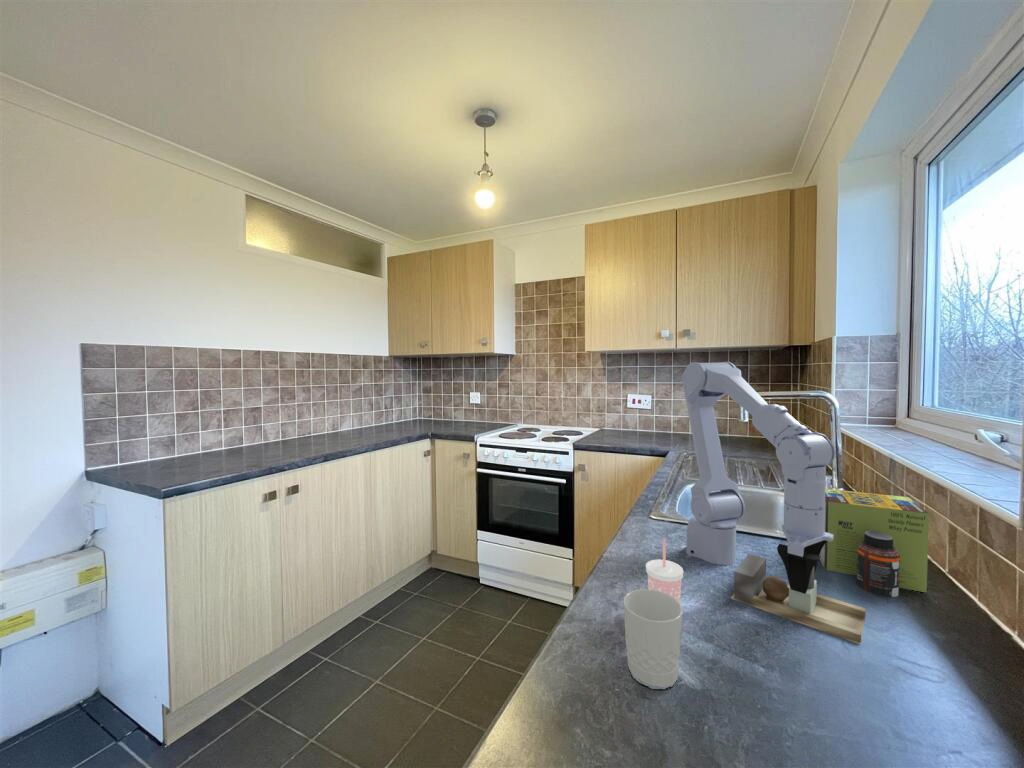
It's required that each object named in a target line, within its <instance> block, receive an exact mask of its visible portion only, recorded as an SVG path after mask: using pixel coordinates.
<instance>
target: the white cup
mask: <svg viewBox="0 0 1024 768" xmlns="http://www.w3.org/2000/svg"><path fill="white" fill-rule="evenodd" d="M623 613H624V614H623V616H624V617H623V618H624V635H625V637H624V638H625V648H626V652H627V653H626V654H627V667H628V666H629V668H630V670H631V672H632V673H633V674H634V675H635V676H636V677H637V678H639V679H640V680H641V681H643V682H646V683H647V684H649V685H652V686H659V687H667V686H669V685H673V684H674V683H675V682H676V680H677V681H679V680H678V679H679V678H678V677H679V661H680V657H681V656H680V655H681V644H682V643H681V642H682V626H683V607H682V605H681V602H680V603H679V602H678V601H677V600H676V599H674V598H673V597H671V596H670V595H668V594H665V593H663V592H660V591H656V590H650V589H649V588H643V589H639V588H638V589H635V590H632V591H629V592H627V594H625V595H624V597H623ZM676 683H677V682H676ZM676 683H675V684H676Z"/></svg>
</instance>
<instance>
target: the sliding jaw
mask: <svg viewBox="0 0 1024 768" xmlns="http://www.w3.org/2000/svg"><path fill="white" fill-rule="evenodd" d="M817 581H818V580H816V579H815V573H814V567H813V569H812V573H811V577H810V582H809V586H808V589H807V592H806V594H804V593H801V592H797V591H794V590H791V588H790V587H789V607H791V608H794V609H796V610H799V611H802V612H805V613H808V614H811V615H812V613H813V610H814V608H815V605H816V596H817V594H818V592H817V590H818V589H817V587H818V584H817V583H818V582H817Z"/></svg>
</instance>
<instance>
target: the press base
mask: <svg viewBox="0 0 1024 768" xmlns="http://www.w3.org/2000/svg"><path fill="white" fill-rule="evenodd" d="M745 556H746V557H745V558H744V559H743V560H742V561H741V563H739V564H738V566H737V567H736V568H735V569H734V572H733V594H732V595H731V596H730V599H731V600H734V601H737V602H739V603H743V604H745V605H748V606H751V607H754V608H757V609H759V610H762V611H764V612H768V613H771V614H773V615H776V616H778V617H780V618H781V617H782V618H785V619H788V620H790V621H793V622H796V623H799V624H801V625H804V626H806V627H810V628H813V629H816V630H819V631H821V632H823V633H827V634H829V635H832V636H836V637H838V638H841V639H844V640H846V641H849V642H852V643H854V644H858V645H861V643H862V637H863V632H864V625H865V619H866V615H867V614H866V610H867V609H866V608H865V607H862V606H858V605H856V604H852V603H849V602H845V601H842V600H839V599H836V598H834V597H833V598H832V597H829V596H826V595H822V594H819V593H817V596H816V605H815V608H814V610H813V613H812V615H811V614H808V613H805V612H802V611H799V610H796V609H794V608H791V607H789V594H788V597H787V598H786V599H785V600H784V601H783V603H782V604H779V603H776V602H773V601H770V600H767V599H766V594H765V592H764V590H763V586H762V585H763V581H764V580H765V579H766V578H767V558H766V557H761V556H759V555H754V554H751V553H748V554H747V555H745ZM787 586H788V588H789V587H790V585H789V584H787Z"/></svg>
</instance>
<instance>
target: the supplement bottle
mask: <svg viewBox="0 0 1024 768" xmlns="http://www.w3.org/2000/svg"><path fill="white" fill-rule="evenodd" d="M864 539H865V540H864V541H863V542H860V543H859V544H858V552H857V576H856V584H857V586H858V587H860V589H862V590H864V591H866V592H868V593H871V594H873V595H876V596H880V597H885V598H896V597H898V596H899V595H900V587H899V582H900V553H899V552H898V550H897V549H895V548H894V547H893V537H892V536H890V535H887V534H884V533H881V532H875V531H867V532H865V536H864Z"/></svg>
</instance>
